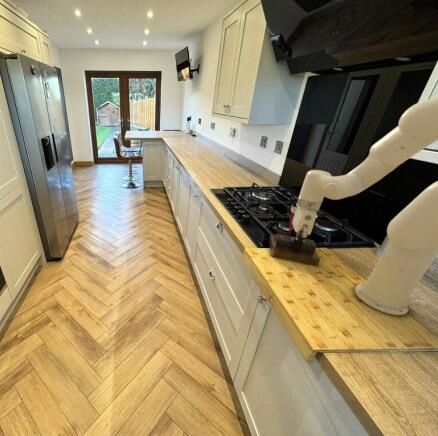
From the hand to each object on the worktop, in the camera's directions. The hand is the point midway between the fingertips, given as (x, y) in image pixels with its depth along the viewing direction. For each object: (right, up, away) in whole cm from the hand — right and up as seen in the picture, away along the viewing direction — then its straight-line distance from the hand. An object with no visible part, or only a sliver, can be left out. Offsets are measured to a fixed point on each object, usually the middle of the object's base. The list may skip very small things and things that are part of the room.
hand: (294, 243), depth 96 cm
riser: (0, -4, +2) cm, 4 cm away
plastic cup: (+11, +2, +16) cm, 19 cm away
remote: (0, -1, +1) cm, 1 cm away
